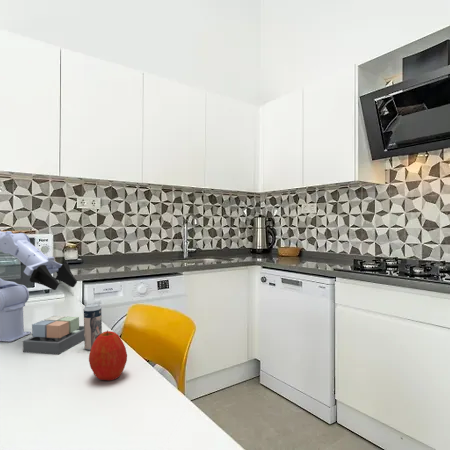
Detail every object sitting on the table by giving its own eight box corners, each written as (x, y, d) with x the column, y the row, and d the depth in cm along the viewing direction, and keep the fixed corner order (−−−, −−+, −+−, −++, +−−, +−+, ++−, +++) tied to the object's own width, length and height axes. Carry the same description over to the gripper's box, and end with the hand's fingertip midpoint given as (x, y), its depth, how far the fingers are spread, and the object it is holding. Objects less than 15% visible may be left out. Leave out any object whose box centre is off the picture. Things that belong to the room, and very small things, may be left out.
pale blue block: (32, 336, 97) (32, 324, 97) (42, 332, 101) (42, 320, 101) (44, 337, 96) (44, 325, 96) (54, 332, 100) (54, 321, 100)
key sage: (58, 331, 101) (58, 320, 101) (67, 327, 105) (67, 316, 105) (70, 332, 100) (70, 320, 100) (79, 328, 104) (78, 317, 104)
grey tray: (23, 352, 95) (22, 340, 95) (59, 334, 110) (59, 323, 110) (58, 354, 93) (58, 342, 93) (91, 336, 108) (90, 325, 108)
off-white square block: (44, 331, 102) (44, 319, 102) (53, 327, 106) (53, 315, 106) (56, 331, 101) (56, 320, 101) (65, 327, 105) (65, 316, 105)
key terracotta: (46, 337, 96) (46, 325, 96) (56, 332, 100) (56, 321, 100) (59, 338, 95) (59, 325, 95) (68, 333, 99) (68, 321, 99)
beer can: (96, 351, 95) (95, 307, 95) (80, 350, 96) (79, 307, 96) (105, 345, 100) (104, 303, 99) (90, 344, 101) (89, 302, 100)
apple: (88, 373, 81) (87, 327, 81) (125, 366, 85) (124, 322, 84) (90, 388, 74) (88, 338, 74) (129, 380, 77) (128, 332, 77)
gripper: (21, 248, 97) (54, 275, 94) (58, 248, 111) (88, 272, 108) (9, 269, 98) (42, 297, 94) (47, 266, 112) (77, 291, 108)
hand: (66, 285), depth 101 cm, fingers open, 7 cm apart
